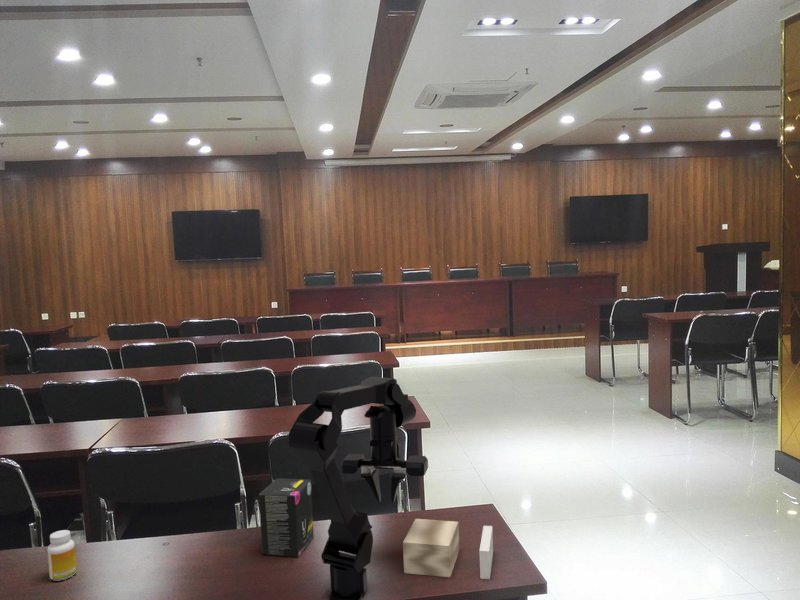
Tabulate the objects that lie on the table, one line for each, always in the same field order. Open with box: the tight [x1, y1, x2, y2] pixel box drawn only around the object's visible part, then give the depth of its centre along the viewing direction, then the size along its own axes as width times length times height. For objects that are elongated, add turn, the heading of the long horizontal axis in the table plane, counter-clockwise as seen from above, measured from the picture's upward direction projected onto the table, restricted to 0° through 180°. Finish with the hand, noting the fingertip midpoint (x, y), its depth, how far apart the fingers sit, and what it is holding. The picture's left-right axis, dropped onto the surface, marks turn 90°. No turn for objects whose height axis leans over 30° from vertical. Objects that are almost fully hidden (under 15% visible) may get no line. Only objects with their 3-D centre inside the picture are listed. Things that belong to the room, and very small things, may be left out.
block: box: [402, 518, 460, 578], centre depth 137 cm, size 10×12×7 cm
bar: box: [478, 525, 494, 580], centre depth 135 cm, size 2×12×6 cm, turn 168°
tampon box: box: [258, 478, 315, 558], centre depth 147 cm, size 11×9×15 cm
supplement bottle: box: [46, 529, 78, 579], centre depth 137 cm, size 5×5×10 cm
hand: (386, 502), depth 138 cm, fingers open, 3 cm apart
